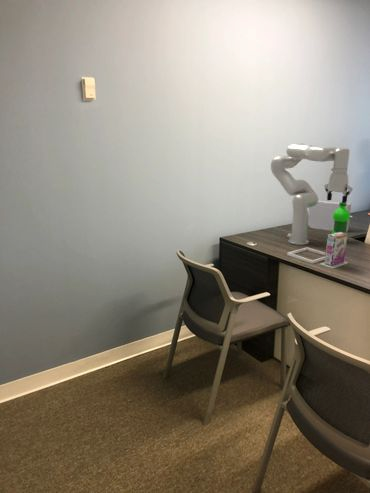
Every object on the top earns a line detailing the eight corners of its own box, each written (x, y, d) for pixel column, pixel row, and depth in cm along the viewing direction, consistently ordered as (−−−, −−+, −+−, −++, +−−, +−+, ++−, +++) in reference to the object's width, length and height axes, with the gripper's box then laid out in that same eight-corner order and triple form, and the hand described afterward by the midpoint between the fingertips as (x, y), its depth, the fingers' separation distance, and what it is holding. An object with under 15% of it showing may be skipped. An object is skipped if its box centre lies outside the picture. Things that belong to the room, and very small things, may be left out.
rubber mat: (319, 264, 206) (319, 263, 206) (335, 259, 213) (335, 258, 213) (332, 268, 200) (332, 267, 199) (348, 263, 207) (348, 262, 207)
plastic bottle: (339, 237, 255) (343, 200, 247) (350, 242, 245) (355, 203, 237) (326, 239, 252) (331, 201, 244) (337, 243, 242) (342, 204, 235)
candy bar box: (331, 266, 201) (335, 236, 197) (323, 263, 205) (327, 234, 200) (344, 262, 207) (348, 233, 202) (336, 259, 211) (340, 231, 206)
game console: (346, 232, 267) (350, 204, 261) (307, 227, 280) (309, 201, 274) (348, 230, 271) (351, 203, 265) (309, 226, 285) (311, 199, 279)
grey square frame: (287, 255, 221) (287, 252, 221) (307, 249, 231) (307, 247, 230) (312, 263, 207) (313, 261, 207) (332, 257, 217) (333, 254, 216)
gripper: (322, 170, 217) (319, 200, 222) (350, 173, 204) (346, 204, 209) (330, 169, 221) (327, 198, 226) (358, 172, 208) (354, 203, 213)
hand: (336, 201), depth 218 cm, fingers open, 9 cm apart
